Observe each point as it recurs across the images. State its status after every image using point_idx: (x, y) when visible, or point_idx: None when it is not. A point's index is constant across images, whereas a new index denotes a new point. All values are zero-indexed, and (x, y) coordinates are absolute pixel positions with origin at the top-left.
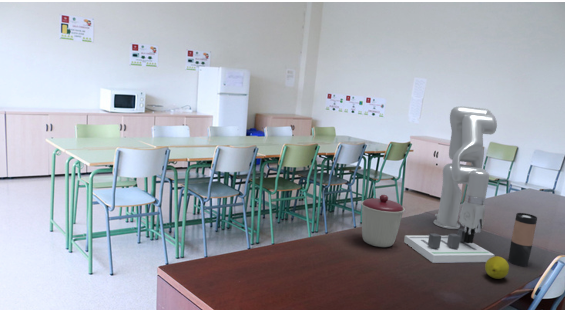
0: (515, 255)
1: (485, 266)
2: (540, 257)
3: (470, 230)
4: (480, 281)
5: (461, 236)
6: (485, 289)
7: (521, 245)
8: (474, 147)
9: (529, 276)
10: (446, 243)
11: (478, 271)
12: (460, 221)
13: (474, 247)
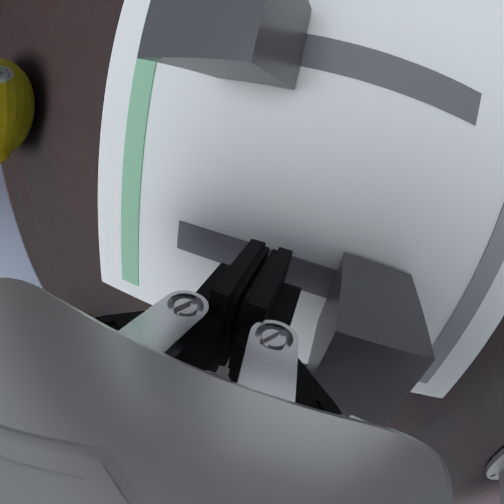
0: None
1: (3, 61)
2: None
3: (137, 323)
4: (29, 23)
5: (342, 284)
6: (10, 14)
7: None
8: None
9: (36, 261)
10: (378, 68)
11: (64, 66)
12: (388, 460)
13: None
